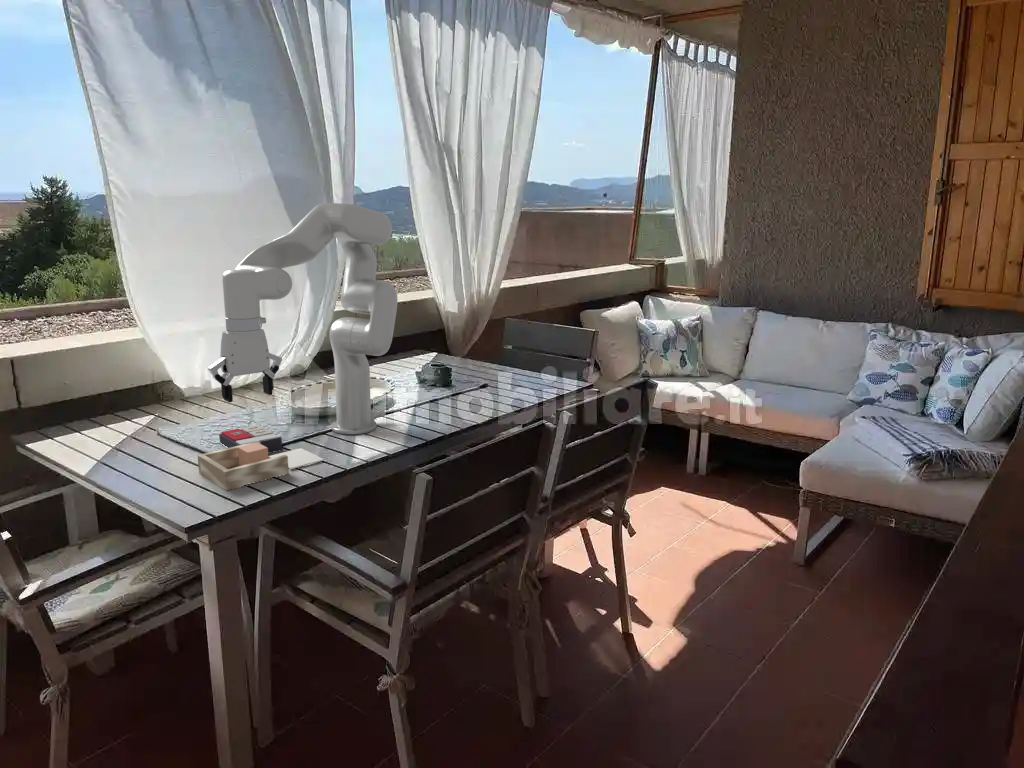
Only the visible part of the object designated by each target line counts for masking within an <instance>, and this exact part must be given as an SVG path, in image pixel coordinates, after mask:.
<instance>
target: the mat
mask: <svg viewBox="0 0 1024 768" xmlns="http://www.w3.org/2000/svg"><path fill="white" fill-rule="evenodd" d="M282 455H287V456H288V468H289V469H294V468H297V467H300V466H303V465H307V464H311V463H315V462H319V461H323V460H324V461H325V459H324V458H322V457H321V456H318V455H316V454H314V453H312V452H310V451H308V450H306V449H303V448H301V447H300V448H295V449H291V450H288V451H284V452H280V453H275V454H272V455H268V459H270V458H274V457H278V456H282ZM289 469H288V470H289ZM294 470H295V469H294Z"/></svg>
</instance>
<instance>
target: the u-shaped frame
mask: <svg viewBox="0 0 1024 768" xmlns="http://www.w3.org/2000/svg"><path fill="white" fill-rule="evenodd" d="M254 443H260V444H261V442H259V441H256V442H252V443H248V444H243V445H239V446H235V447H230V448H223V449H218V450H215V451H210V452H205V453H201V454H197V463H198V465H197V466H198V473H199V474H200V475H201V476H203V477H204V478H206V479H207V480H209V481H210V480H211V481H210V482H212V483H213V482H214V484H216V485H217V486H218V487H220V488H221V489H222V490H224V491H226V490H228V491H231V490H230V489H232V490H234V488H236V489H238V488H237V487H239V488H241V487H240V486H243V485H246V484H248V483H253V482H257V481H261V480H265V479H268V480H270V479H269V478H272V477H276V476H279V475H283V474H286V473H289V474H290V472H289V471H290V470H289V469H288V456H287V455H282V456H278V457H274V458H270V459H269V458H268V459H266V460H262V461H258V462H255V463H251V464H247V465H243V466H239V456H238V447H241V446H245V445H249V444H254ZM283 476H284V475H283ZM279 477H280V476H279ZM276 478H277V477H276ZM272 479H273V478H272ZM265 481H266V480H265ZM261 482H262V481H261ZM257 483H258V482H257ZM246 486H247V485H246ZM243 487H244V486H243Z"/></svg>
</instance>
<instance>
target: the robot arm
mask: <svg viewBox="0 0 1024 768" xmlns="http://www.w3.org/2000/svg"><path fill="white" fill-rule="evenodd" d="M392 233H393V226H392V222H391V220H390V218H389V217H388V216H387V215H386V214H385V213H383V212H382V211H381V212H380V211H378V210H374V209H371V208H367V207H364V206H360V205H356V204H352V203H341V202H339V203H336V202H324V203H318V204H317V205H315V206H314V207H313V208H312V209H311V210H310V211H309V212H308V213H307V214H305V215H304V217H303V218H302V219H301V220H299V222H298V223H297V224H296V225H295V226H294V227H293V228H292V229H291V230H289V232H288V233H286V234H284V235H282V236H280V237H277V238H275V239H273V240H271V241H269V242H267V243H265V244H263V245H261V246H259V247H257V248H255V249H254V250H253V251H252V252H250V253H249V254H248V255H247V256H245V258H244V259H243V260H242V261H240V263H239V264H238V265H237V266H236V267H235V269H229V270H228V269H227V270H226V271H224V272H223V274H222V288H223V290H222V291H223V292H222V293H223V303H224V304H223V305H224V306H223V307H224V319H225V330H223V331H222V334H221V339H220V359H218V360H217V361H215V362H214V363H213V364H211V365H209V366H208V367H207V370H208V372H209V374H210V375H211V376H212V379H214V380H215V381H216V382H218V383H219V384H220V385H221V386H220V387H221V389H220V390H221V397H222V398H223V401H226V402H227V403H232V402H234V400H233V399H234V398H233V397H234V396H233V387H232V385H231V384H230V383H231V382H232V381H233V379H234V377H239V376H240V377H241V376H246V375H251V374H252V375H253V374H258V373H262V374H263V375H262V390H263V391H262V392H263V393H264V394H266V395H268V396H271V395H273V391H274V380H273V379H274V378H275V377H276V373H277V372H279V369H280V366H281V363H282V361H283V358H282V357H281V356H278V355H275V354H273V353H271V352H270V351H269V346H268V339H267V336H266V332H265V329H263V324H266V323H267V319H266V317H262V315H261V303H260V302H261V301H262V300H264V301H265V300H270V301H277V300H281V299H284V298H285V297H287V296H288V295H289V294H290V293H291V291H292V287H293V279H292V277H291V275H290V274H289V272H287V271H286V270H285V269H286V268H290V267H294V266H299V265H302V264H306V263H309V262H311V261H313V260H315V259H316V257H317V256H318V255H320V253H321V252H323V250H324V249H325V248H326V247H327V246H328V245H329V244H330V242H331V241H333V239H335V238H336V239H337V241H338V242H339V244H340V245H341V248H342V250H343V254H344V257H345V262H344V264H345V265H344V271H343V273H344V274H343V280H342V286H341V293H340V304H341V307H342V308H343V309H344V310H345V311H348V312H349V313H354V314H362V315H370V317H369V319H367V318H362V317H361V318H360V317H354V316H353V317H352V316H345V317H340V318H338V319H336V320H334V322H332V324H331V326H330V328H329V334H328V335H329V341H330V345H331V350H332V353H333V362H334V381H335V383H334V385H335V386H334V387H335V388H334V389H335V410H336V421H335V420H334V421H333V422H332V423H331V424H330V426H331V427H330V428H332V429H331V430H332V431H333V432H334V433H337V434H342V435H361V434H362V435H363V434H367V433H370V432H372V431H374V430H376V428H377V424H378V423H377V421H376V419H377V418H382V417H385V415H386V411H385V410H384V409H381V410H376V409H371V408H372V406H371V371H370V369H371V368H370V365H369V360H368V358H367V356H375V357H380V356H383V355H385V354H386V353H387V352H389V349H390V348H391V346H392V345H391V344H392V342H393V337H394V330H395V324H396V318H397V317H396V316H397V312H398V311H397V310H398V293H397V291H396V288H395V286H394V285H393V284H392V283H391V282H389V281H385V280H379V279H376V278H377V267H378V261H377V257H376V254H375V252H374V249H372V246H371V245H373V246H381V245H384V244H386V243H387V242H388V241H389V240H390V238H391V237H392ZM366 355H367V356H366ZM270 360H272V361H273V363H272V364H271V363H270V362H271V361H270ZM219 369H220V370H221V372H222V373H223V374H222V375H220V374H219V372H218V370H219Z"/></svg>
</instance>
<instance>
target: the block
mask: <svg viewBox="0 0 1024 768" xmlns="http://www.w3.org/2000/svg"><path fill="white" fill-rule="evenodd" d="M238 456H239V465H238V467H239V466H243V465H247V464H251V463H255V462H258V461H262V460H266V459H269V458H268V456H269V453H268V448H267V447H265V446H263V445H261V444H260V443H254V444H249V445H245V446H241V447H238Z"/></svg>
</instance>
